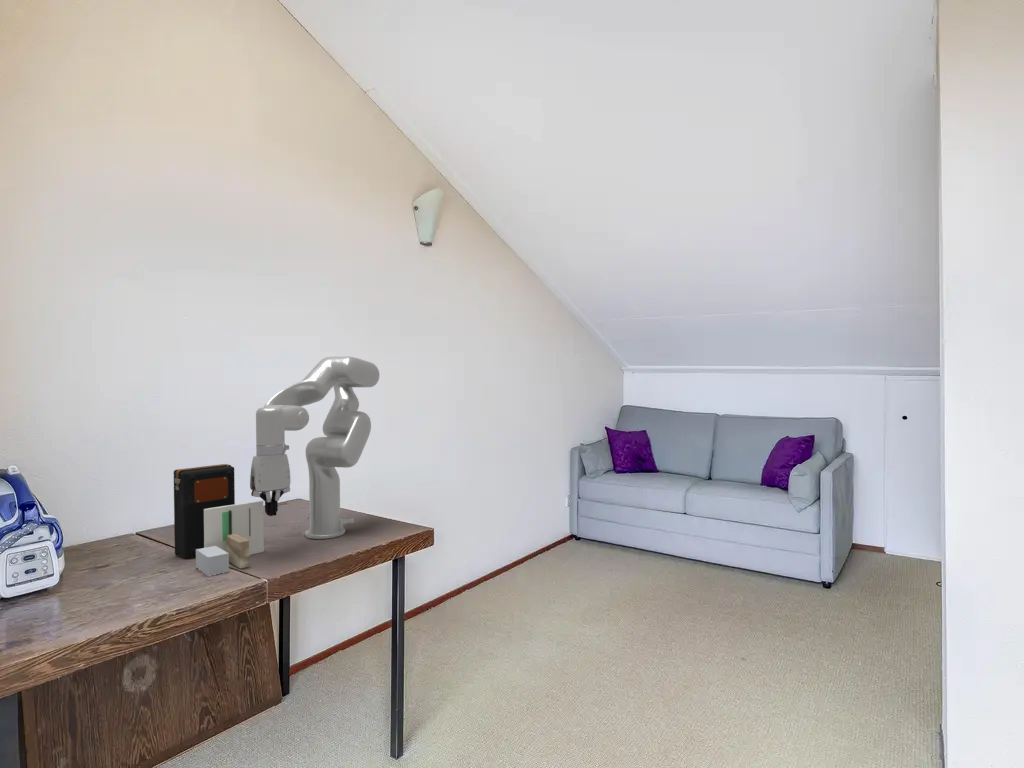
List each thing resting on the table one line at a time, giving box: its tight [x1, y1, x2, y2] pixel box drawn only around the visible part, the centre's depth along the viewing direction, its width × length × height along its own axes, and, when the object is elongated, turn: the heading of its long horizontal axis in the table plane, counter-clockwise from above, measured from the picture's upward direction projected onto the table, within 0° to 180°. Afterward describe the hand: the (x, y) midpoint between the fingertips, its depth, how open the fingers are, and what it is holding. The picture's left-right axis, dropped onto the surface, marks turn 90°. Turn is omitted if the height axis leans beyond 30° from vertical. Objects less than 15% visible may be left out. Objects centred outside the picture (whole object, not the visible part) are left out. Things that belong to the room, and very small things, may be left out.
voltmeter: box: [173, 463, 236, 559], centre depth 177 cm, size 16×9×25 cm, turn 141°
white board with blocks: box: [195, 499, 265, 577], centre depth 166 cm, size 19×13×15 cm
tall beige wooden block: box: [226, 510, 250, 569], centre depth 165 cm, size 2×11×14 cm, turn 44°
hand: (271, 514), depth 172 cm, fingers closed
